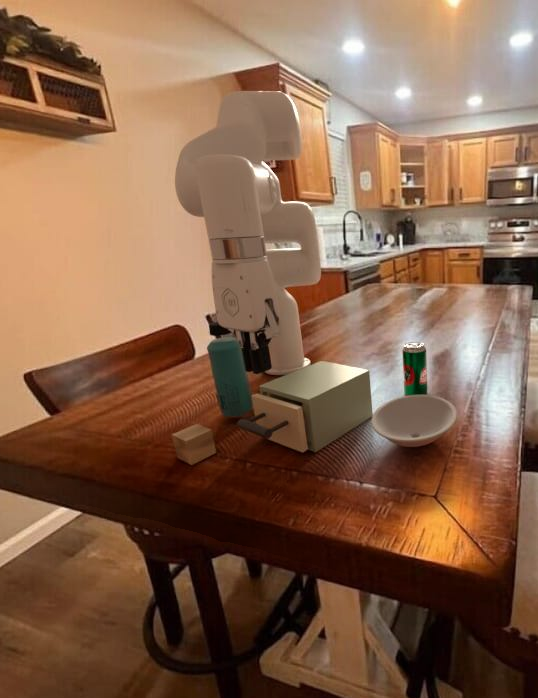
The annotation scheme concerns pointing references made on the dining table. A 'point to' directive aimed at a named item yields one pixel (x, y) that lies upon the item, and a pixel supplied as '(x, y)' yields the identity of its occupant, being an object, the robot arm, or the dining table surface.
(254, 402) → the drawer
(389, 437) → the dish
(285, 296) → the robot arm
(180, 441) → the block
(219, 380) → the beverage bottle
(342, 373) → the cabinet
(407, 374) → the soda can
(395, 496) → the dining table surface
